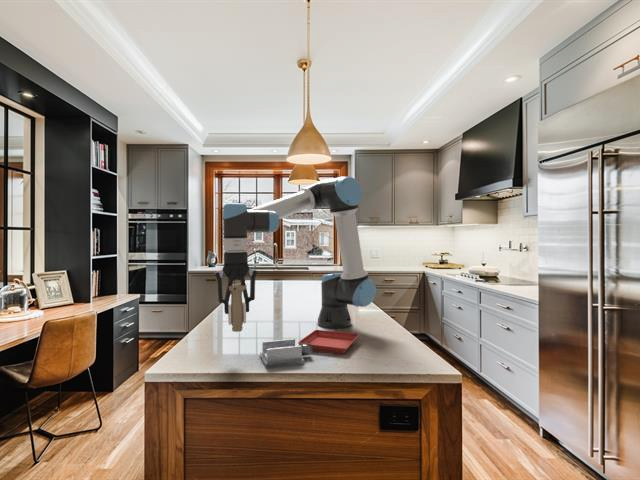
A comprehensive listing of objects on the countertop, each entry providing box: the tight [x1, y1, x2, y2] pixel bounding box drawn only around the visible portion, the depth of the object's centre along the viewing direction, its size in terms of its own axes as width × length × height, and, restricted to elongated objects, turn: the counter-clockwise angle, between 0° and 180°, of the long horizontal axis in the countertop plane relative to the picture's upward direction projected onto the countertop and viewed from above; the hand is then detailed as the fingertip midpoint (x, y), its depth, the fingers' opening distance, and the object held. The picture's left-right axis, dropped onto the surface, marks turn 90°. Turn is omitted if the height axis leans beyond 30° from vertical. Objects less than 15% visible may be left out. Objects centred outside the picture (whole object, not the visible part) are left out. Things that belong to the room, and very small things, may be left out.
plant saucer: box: [297, 329, 360, 355], centre depth 135 cm, size 18×18×3 cm
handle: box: [225, 283, 247, 333], centre depth 120 cm, size 5×6×15 cm
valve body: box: [259, 338, 313, 369], centre depth 121 cm, size 16×12×5 cm
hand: (237, 322), depth 120 cm, fingers closed on handle, 4 cm apart
